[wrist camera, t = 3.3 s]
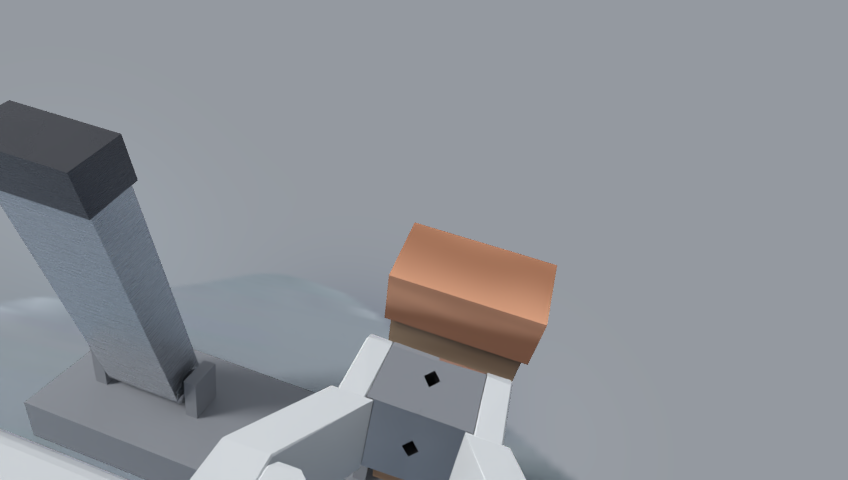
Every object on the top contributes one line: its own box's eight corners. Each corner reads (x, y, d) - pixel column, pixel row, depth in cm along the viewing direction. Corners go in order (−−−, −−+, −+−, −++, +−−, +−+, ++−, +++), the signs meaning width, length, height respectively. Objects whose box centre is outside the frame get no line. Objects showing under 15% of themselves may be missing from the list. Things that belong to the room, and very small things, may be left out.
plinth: (486, 615, 29) (516, 559, 26) (33, 434, 33) (13, 366, 30) (504, 491, 35) (529, 435, 32) (127, 353, 39) (119, 292, 36)
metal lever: (182, 414, 32) (67, 172, 19) (109, 386, 33) (-55, 134, 19) (208, 377, 34) (121, 134, 21) (138, 351, 35) (9, 100, 21)
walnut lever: (452, 516, 30) (546, 325, 16) (367, 484, 31) (389, 275, 17) (464, 470, 32) (556, 265, 18) (383, 440, 33) (414, 222, 19)
